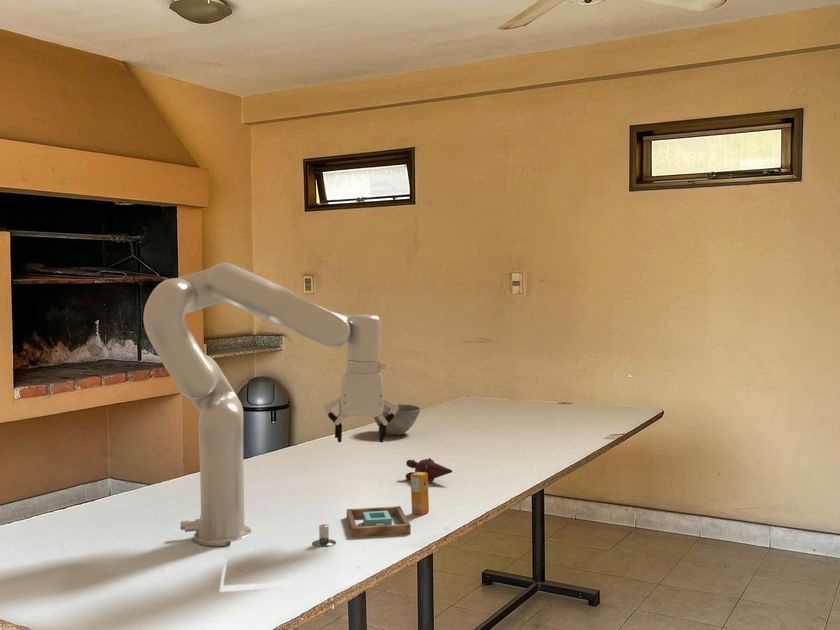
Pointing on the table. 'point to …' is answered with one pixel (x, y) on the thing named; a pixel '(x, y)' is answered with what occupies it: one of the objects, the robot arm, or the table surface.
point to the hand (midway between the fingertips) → (360, 441)
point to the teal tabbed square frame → (377, 518)
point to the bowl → (400, 419)
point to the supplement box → (419, 493)
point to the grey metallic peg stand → (323, 537)
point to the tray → (378, 530)
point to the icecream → (427, 469)
